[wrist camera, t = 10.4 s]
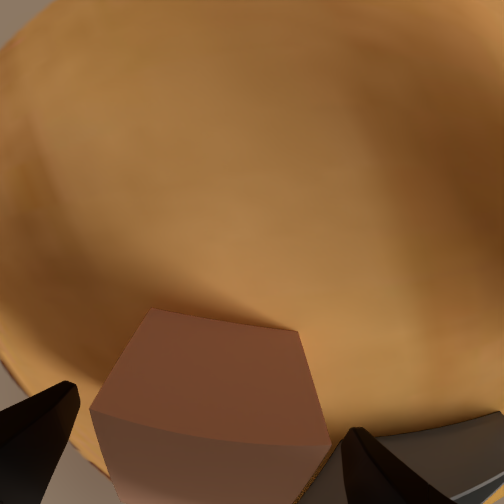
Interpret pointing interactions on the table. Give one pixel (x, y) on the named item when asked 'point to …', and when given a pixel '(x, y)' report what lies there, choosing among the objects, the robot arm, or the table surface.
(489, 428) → the tote
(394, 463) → the robot arm
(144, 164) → the table surface
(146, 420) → the cube
